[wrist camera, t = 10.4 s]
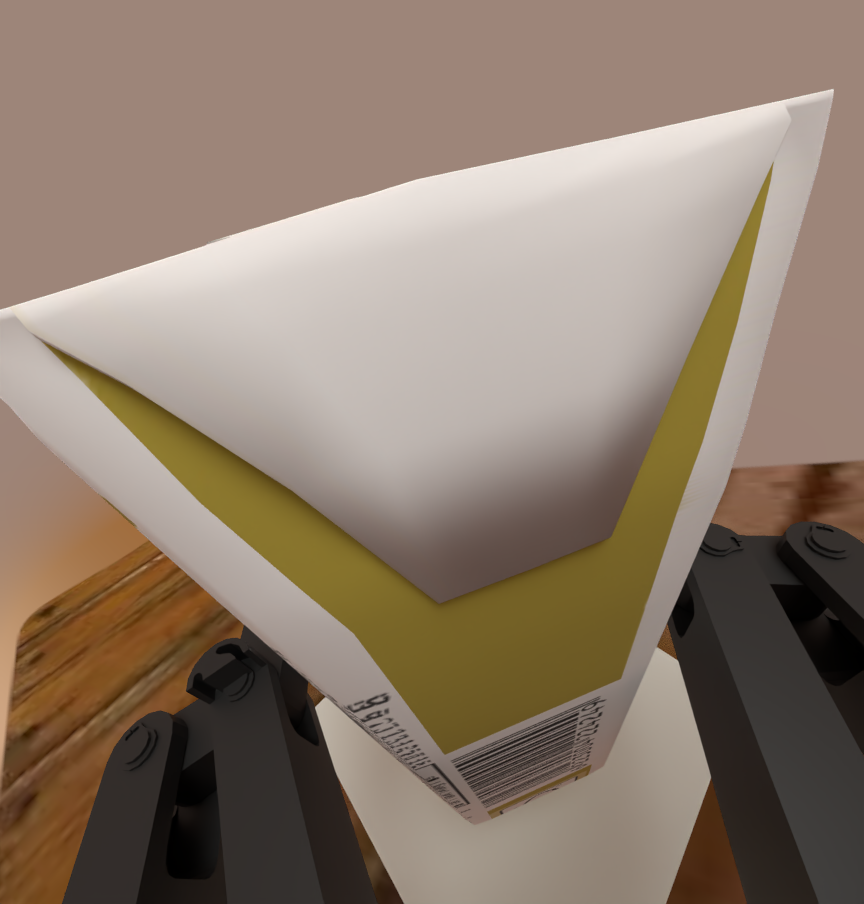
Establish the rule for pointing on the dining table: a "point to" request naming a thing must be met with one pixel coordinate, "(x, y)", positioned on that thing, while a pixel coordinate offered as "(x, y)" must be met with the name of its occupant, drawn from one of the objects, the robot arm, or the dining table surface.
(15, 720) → the dining table surface
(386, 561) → the juice carton
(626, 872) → the stacking block
